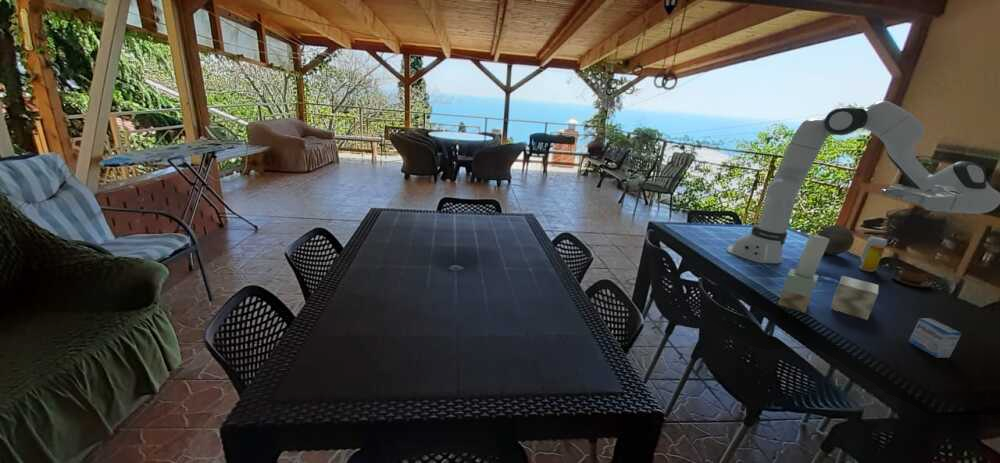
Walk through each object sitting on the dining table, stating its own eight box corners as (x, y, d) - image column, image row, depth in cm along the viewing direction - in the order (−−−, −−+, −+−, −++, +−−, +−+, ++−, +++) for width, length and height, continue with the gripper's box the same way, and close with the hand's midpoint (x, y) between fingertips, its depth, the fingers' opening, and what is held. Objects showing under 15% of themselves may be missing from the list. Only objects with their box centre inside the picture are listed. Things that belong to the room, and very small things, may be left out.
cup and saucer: (918, 280, 167) (924, 267, 165) (937, 292, 156) (943, 278, 154) (883, 275, 171) (889, 262, 169) (900, 286, 160) (905, 272, 158)
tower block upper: (782, 289, 138) (787, 274, 136) (786, 283, 144) (791, 268, 142) (810, 297, 133) (815, 282, 131) (813, 290, 138) (818, 275, 136)
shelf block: (830, 308, 139) (839, 283, 135) (832, 299, 145) (841, 275, 142) (867, 320, 132) (878, 293, 129) (868, 310, 139) (878, 284, 136)
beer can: (878, 273, 172) (891, 241, 167) (863, 271, 173) (875, 239, 168) (869, 267, 178) (881, 236, 173) (854, 266, 179) (865, 235, 174)
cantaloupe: (805, 251, 195) (814, 223, 190) (822, 248, 200) (831, 220, 195) (837, 262, 183) (848, 232, 178) (854, 258, 188) (865, 229, 183)
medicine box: (907, 342, 120) (918, 317, 118) (920, 341, 121) (931, 317, 118) (936, 358, 113) (949, 332, 110) (950, 358, 113) (962, 332, 110)
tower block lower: (777, 304, 140) (782, 289, 138) (782, 297, 145) (786, 283, 144) (804, 313, 135) (810, 297, 133) (808, 305, 140) (813, 290, 138)
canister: (794, 273, 136) (810, 236, 131) (794, 269, 140) (810, 233, 135) (813, 279, 133) (830, 241, 128) (813, 274, 137) (829, 238, 132)
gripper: (916, 183, 143) (873, 180, 145) (968, 195, 124) (918, 192, 126) (910, 200, 145) (868, 196, 147) (960, 214, 126) (911, 210, 128)
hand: (891, 194), depth 136 cm, fingers open, 8 cm apart
